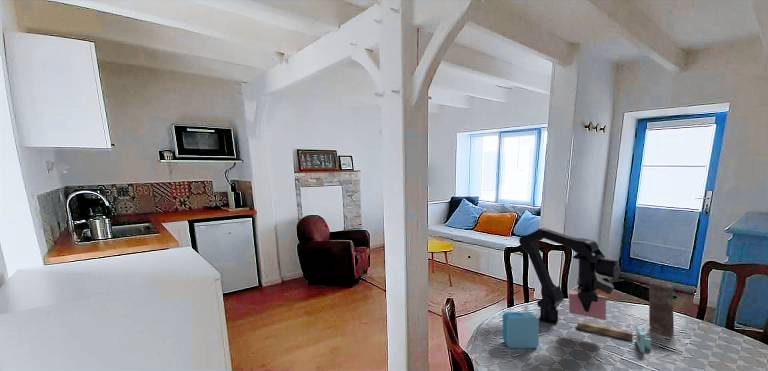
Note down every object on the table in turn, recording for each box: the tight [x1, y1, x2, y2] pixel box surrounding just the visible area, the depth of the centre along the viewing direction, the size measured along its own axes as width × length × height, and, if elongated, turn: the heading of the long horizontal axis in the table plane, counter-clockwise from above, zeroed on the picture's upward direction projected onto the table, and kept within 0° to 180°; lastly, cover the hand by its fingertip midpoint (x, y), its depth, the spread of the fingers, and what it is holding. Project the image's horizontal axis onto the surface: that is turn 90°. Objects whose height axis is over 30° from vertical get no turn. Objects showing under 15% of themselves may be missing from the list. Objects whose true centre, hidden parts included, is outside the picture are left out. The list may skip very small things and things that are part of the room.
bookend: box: [635, 323, 652, 355], centre depth 111 cm, size 4×8×7 cm, turn 148°
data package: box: [502, 311, 540, 349], centre depth 115 cm, size 12×4×12 cm, turn 88°
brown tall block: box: [648, 281, 675, 336], centre depth 122 cm, size 8×7×20 cm
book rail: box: [577, 320, 634, 341], centre depth 122 cm, size 18×2×2 cm, turn 58°
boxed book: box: [568, 289, 607, 321], centre depth 120 cm, size 12×4×8 cm, turn 58°
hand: (586, 309), depth 120 cm, fingers closed on boxed book, 4 cm apart
